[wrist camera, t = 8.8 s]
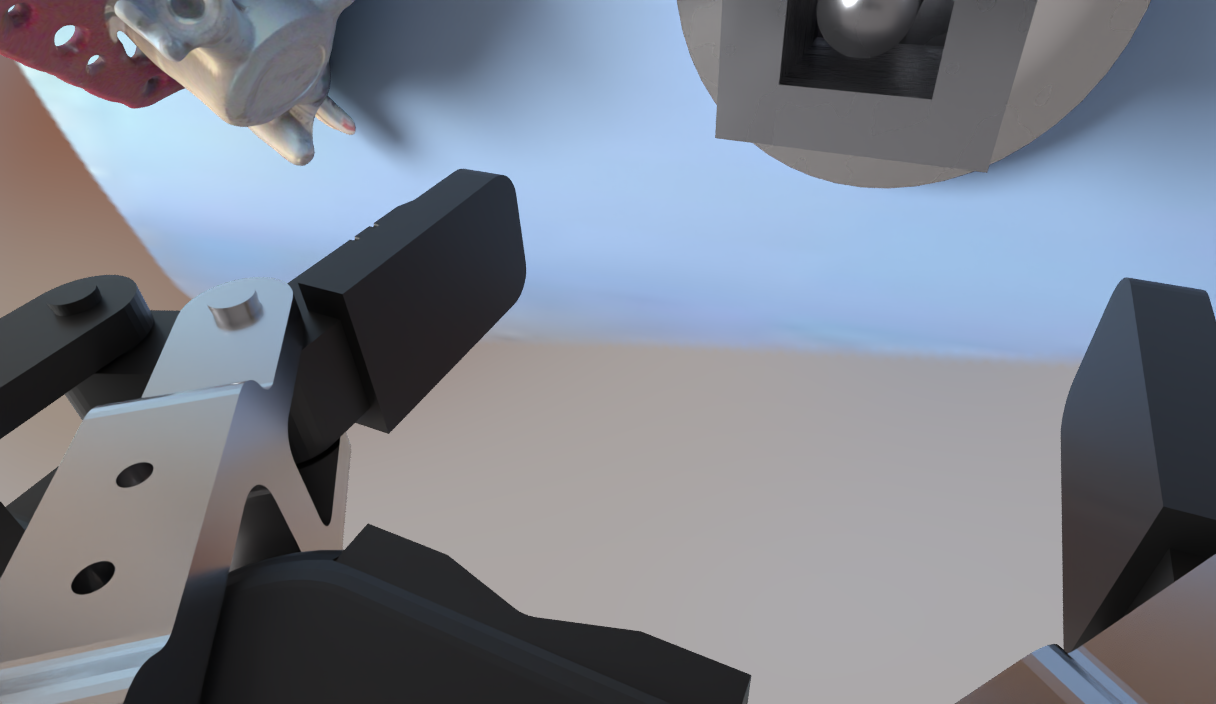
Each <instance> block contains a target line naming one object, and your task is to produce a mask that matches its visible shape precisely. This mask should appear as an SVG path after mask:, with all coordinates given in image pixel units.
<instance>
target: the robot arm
mask: <svg viewBox="0 0 1216 704" xmlns="http://www.w3.org/2000/svg"><path fill="white" fill-rule="evenodd" d="M525 278H526V262H525V254H524V247H523V240H522V233H521V226H520V219H519V212H518V205H517V197H516V192H515V188H514V185H513V183H512V181H511V180H510V179H509V178H508V177H507V176H504V175H499V174H493V173H487V172H480V171H474V170H468V169H459V170H457V171H455V172H453V173H452V174H450V175H449V176H448V177H446V178H445V179H443V180H442V181H441V182H439V183H438V184H436V185H435V186H433V187H432V188H431V189H429V190H428V191H426V192H425V193H424V194H422V195H421V196H419V197H418V198H416V199H415V200H413V201H411V202H408V203H406V204H403V205H401V206H398V207H396V208H395V209H393V210H392V211H391V212H389V213H388V214H386V215H385V216H383V217H382V218H380V219H379V220H378V221H376V222H375V223H374V227H370V226H369V227H368V228H366V229H365V230H363V231H362V232H360V233H359V234H358V235H356V236H355V240H349V241H348V242H346V243H345V244H343V245H342V246H340V247H339V248H338V249H336V250H335V251H333V252H332V253H330V254H329V255H328V256H326V257H325V258H323V259H322V260H320V261H319V262H318V263H316V264H315V265H313V266H312V267H310V268H309V269H308V270H306V271H305V272H303V273H302V274H300V275H299V276H298V277H296V278H295V279H293V280H292V281H290V282H289V283H285V282H284V281H281V280H279V279H275V278H268V277H252V278H244V279H239V280H234V281H231V282H227V283H224V284H221V285H218V286H216V287H213V288H211V289H209V290H207V291H205V292H203V293H201V294H199V295H198V296H196V297H195V298H193V299H192V300H191V301H190V302H189V303H187V304H186V305H185V306H184V308H183V309H182V310H181V311H152V310H149V308H148V306H147V304H146V302H145V300H144V299H143V296H142V295H141V293H140V291H139V289H138V287H137V285H136V283H135V282H134V281H133V280H131V279H130V278H127V277H124V276H119V275H102V276H94V277H88V278H83V279H80V280H76V281H73V282H70V283H66V284H64V285H61V286H59V287H56V288H54V289H52V290H50V291H48V292H46V293H44V294H42V295H40V296H38V297H37V298H35V299H33V300H31V301H30V302H28V303H26V304H25V305H23V306H21V307H19V308H18V309H16V310H14V311H12V312H11V313H9V314H7V315H6V316H4V317H2V318H0V439H1V438H2V437H4V436H5V435H7V434H8V433H10V432H11V431H13V430H14V429H15V428H17V427H18V426H20V425H21V424H23V423H24V422H25V421H27V420H28V419H30V418H31V417H33V416H34V415H35V414H37V413H38V412H40V411H41V410H43V409H44V408H46V407H47V406H48V405H50V404H51V403H53V402H54V401H55V400H57V399H58V398H60V397H61V396H63V395H64V394H65V395H66V397H67V398H68V400H69V401H70V403H71V404H72V406H73V407H74V409H75V410H76V412H77V413H78V414H79V416H80V417H81V419H82V420H83V421H82V423H81V425H80V427H79V429H78V431H77V433H76V434H75V436H74V439H73V440H72V442H71V444H70V446H69V448H68V450H67V452H66V454H65V456H64V457H63V459H62V461H61V463H60V465H59V466H58V467H57V468H56V469H54V470H53V471H52V472H50V473H49V474H48V475H47V476H45V477H44V478H43V479H41V480H40V481H39V482H38V483H36V484H35V485H34V486H32V487H31V488H30V489H28V490H27V491H26V492H25V493H23V494H22V495H21V496H20V497H18V498H17V499H15V500H14V501H13V502H12V503H10V504H9V505H8V506H6V507H5V506H4V505H3V504H2V503H1V502H0V704H747V703H748V696H749V687H750V681H751V675H749V674H747V673H745V672H742V671H739V670H737V669H734V668H732V667H729V666H727V665H724V664H722V663H719V662H717V661H714V660H712V659H709V658H706V657H704V656H702V655H699V654H696V653H694V652H691V651H689V650H686V649H684V648H681V647H679V646H676V645H674V644H671V643H669V642H666V641H664V640H661V639H659V638H656V637H653V636H651V635H648V634H646V633H643V632H641V631H633V630H626V629H618V628H611V627H604V626H596V625H588V624H581V623H574V622H566V621H559V620H552V619H544V618H537V617H532V616H528V615H525V614H523V613H521V612H519V611H518V610H516V609H515V608H513V607H512V606H511V605H510V604H508V603H507V602H506V601H505V600H503V599H502V598H501V597H500V596H498V595H497V594H496V593H494V592H493V591H492V590H491V589H490V588H488V587H487V586H486V585H484V584H483V583H482V582H481V581H480V580H478V579H477V578H476V577H474V576H473V575H472V574H471V573H469V572H468V571H467V570H466V569H464V568H463V567H462V566H461V565H459V564H458V563H457V562H456V561H454V560H453V559H452V558H450V557H449V556H448V555H446V554H443V553H441V552H438V551H436V550H433V549H431V548H428V547H426V546H423V545H421V544H418V543H416V542H413V541H411V540H408V539H405V538H403V537H401V536H398V535H396V534H393V533H391V532H388V531H385V530H383V529H380V528H378V527H375V526H373V525H370V524H367V525H366V526H365V527H364V529H363V530H362V531H361V532H360V533H359V534H358V535H357V536H356V538H355V539H354V540H353V541H352V542H351V543H350V545H349V546H348V547H347V548H346V549H345V550H343V535H344V523H345V512H346V502H347V501H346V500H347V491H348V479H349V469H350V458H351V444H350V441H349V438H348V436H347V433H346V431H347V430H348V429H349V428H350V427H351V426H352V425H353V424H354V423H358V424H361V425H364V426H367V427H370V428H373V429H376V430H379V431H382V432H385V433H388V434H389V433H390V432H391V431H392V430H393V429H394V428H395V427H396V426H397V425H398V424H399V423H400V422H401V421H402V420H403V418H405V417H406V415H407V414H408V413H409V412H410V411H411V410H412V409H413V408H414V407H415V406H416V405H417V404H418V403H419V402H420V401H421V400H422V399H423V398H424V397H425V396H426V395H427V394H428V393H429V392H430V391H431V389H433V387H435V385H437V383H438V382H439V381H440V380H441V379H442V378H443V377H444V376H445V375H446V374H447V373H448V372H449V371H450V370H451V369H452V368H453V367H454V366H455V365H456V364H457V363H458V362H459V361H460V360H461V359H462V357H464V356H465V355H466V354H467V352H468V351H469V350H470V349H471V348H472V347H473V346H474V345H475V344H476V343H477V342H478V341H479V340H480V339H481V338H482V337H483V336H484V335H485V334H486V333H487V332H488V331H489V330H490V329H491V328H492V327H493V326H494V325H495V324H496V323H497V322H498V321H499V319H500V318H501V317H502V316H503V315H504V314H505V313H506V312H507V311H508V310H509V309H510V308H511V307H512V306H513V305H514V304H515V303H516V301H517V300H518V298H519V297H520V295H521V292H522V290H523V287H524V283H525ZM1061 477H1062V478H1061V485H1062V553H1063V554H1062V555H1063V556H1062V558H1063V634H1064V650H1063V649H1062V648H1061V647H1060V646H1059V645H1057V644H1052V645H1047V646H1045V647H1042V648H1040V649H1038V650H1036V651H1034V652H1032V653H1031V654H1029V655H1027V656H1026V657H1024V658H1023V659H1021V660H1020V661H1018V662H1016V663H1015V664H1013V665H1012V666H1011V667H1009V668H1007V669H1006V670H1004V671H1003V672H1001V673H1000V674H998V675H997V676H995V677H994V678H992V679H991V680H989V681H988V682H986V683H985V684H984V685H982V686H981V687H979V688H978V689H976V690H975V691H973V692H972V693H970V694H969V695H967V696H966V697H964V698H963V699H961V700H960V701H958V702H957V703H955V704H1216V320H1215V316H1214V313H1213V309H1212V306H1211V302H1210V299H1209V296H1208V293H1207V292H1206V291H1204V290H1201V289H1194V288H1188V287H1182V286H1176V285H1170V284H1164V283H1157V282H1151V281H1145V280H1139V279H1133V278H1127V277H1126V278H1124V279H1122V280H1121V281H1120V282H1119V284H1118V285H1117V287H1116V288H1115V290H1114V292H1113V294H1112V296H1111V298H1110V300H1109V302H1108V304H1107V307H1106V309H1105V311H1104V313H1103V316H1102V318H1101V320H1100V322H1099V325H1098V327H1097V329H1096V331H1095V333H1094V336H1093V338H1092V340H1091V342H1090V345H1089V347H1088V349H1087V351H1086V354H1085V356H1084V358H1083V360H1082V363H1081V365H1080V367H1079V369H1078V371H1077V374H1076V376H1075V378H1074V380H1073V383H1072V385H1071V388H1070V391H1069V394H1068V397H1067V401H1066V404H1065V409H1064V413H1063V418H1062V425H1061Z"/></svg>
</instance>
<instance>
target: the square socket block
mask: <svg viewBox="0 0 1216 704" xmlns="http://www.w3.org/2000/svg"><path fill="white" fill-rule="evenodd" d="M817 1H818V0H722V17H721V37H720V56H719V76H718V96H717V116H716V135H715V138H719V139H727V140H735V141H743V142H751V143H759V144H766V145H774V146H782V147H790V148H798V149H806V150H814V151H821V152H829V153H837V154H845V155H853V156H861V157H869V158H876V159H884V160H892V161H900V162H908V163H916V164H923V165H931V166H939V167H947V168H955V169H963V170H971V171H978V172H986V173H987V171H988V168H989V164H990V161H991V158H992V154H993V151H994V147H995V144H996V140H997V137H998V134H999V130H1000V127H1001V123H1002V120H1003V117H1004V113H1005V110H1006V106H1007V103H1008V100H1009V96H1010V93H1011V89H1012V86H1013V82H1014V79H1015V76H1016V72H1017V69H1018V65H1019V62H1020V59H1021V55H1022V52H1023V48H1024V45H1025V42H1026V38H1027V35H1028V31H1029V28H1030V24H1031V21H1032V18H1033V14H1034V11H1035V7H1036V4H1037V1H1038V0H955V1H954V6H953V10H952V14H951V19H950V23H949V27H948V32H947V36H946V41H945V45H944V47H942V46H928V45H914V44H900V43H898V44H897V45H895V46H894V47H893V48H891V49H890V50H888V51H887V52H885V53H882V54H880V55H877V56H874V57H869V58H853V57H849V56H846V55H843V54H841V53H839V52H838V51H836V50H835V49H833V48H832V47H831V46H830V45H829V44H828V43H827V42H826V40H825V39H824V38H818V37H817V35H818V27H819V26H818V22H817V15H816V11H817Z"/></svg>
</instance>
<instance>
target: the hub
mask: <svg viewBox="0 0 1216 704" xmlns="http://www.w3.org/2000/svg"><path fill="white" fill-rule="evenodd" d="M954 1H955V0H818V1H817V11H816V15H817V22H818V26H819V27H818V35H817V37H818V38H824V39H825V40H826V42H827V43H828V44H829V45H830V46H831V47H832V48H833V49H835V50H836V51H838V52H839V53H841V54H843V55H846V56H849V57H853V58H869V57H874V56H877V55H880V54H882V53H885V52H887V51H888V50H890V49H891V48H893V47H894V46H895V45H897V44H898V43H900V44H914V45H928V46H942V47H944V45H945V41H946V36H947V32H948V27H949V23H950V19H951V14H952V10H953V6H954ZM1150 1H1151V0H1038V1H1037V4H1036V7H1035V11H1034V14H1033V18H1032V21H1031V24H1030V28H1029V31H1028V35H1027V38H1026V42H1025V45H1024V48H1023V52H1022V55H1021V59H1020V62H1019V65H1018V69H1017V72H1016V76H1015V79H1014V82H1013V86H1012V89H1011V93H1010V96H1009V100H1008V103H1007V106H1006V110H1005V113H1004V117H1003V120H1002V123H1001V127H1000V130H999V134H998V137H997V140H996V144H995V147H994V151H993V154H992V158H991V161H990V164H992V163H994V162H997V161H999V160H1001V159H1003V158H1005V157H1006V156H1008V155H1010V154H1012V153H1013V152H1015V151H1017V150H1019V149H1021V148H1022V147H1024V146H1026V145H1028V144H1029V143H1031V142H1032V141H1033V140H1035V139H1036V138H1038V137H1039V136H1040V135H1042V134H1043V133H1045V132H1046V131H1047V130H1049V129H1050V128H1051V127H1053V126H1054V125H1056V124H1057V123H1058V122H1059V121H1060V120H1061V119H1062V118H1064V117H1065V116H1066V115H1067V114H1068V113H1069V112H1070V111H1071V110H1072V109H1074V108H1075V107H1076V106H1077V105H1078V104H1079V103H1080V102H1081V101H1083V99H1084V98H1085V97H1086V96H1087V95H1088V94H1089V93H1090V92H1091V90H1092V89H1093V88H1094V87H1095V86H1096V85H1097V84H1098V83H1099V82H1100V80H1101V79H1102V78H1103V77H1104V76H1105V75H1106V74H1107V72H1108V71H1109V70H1110V68H1111V67H1112V65H1113V64H1114V63H1115V61H1116V60H1117V58H1118V57H1119V56H1120V54H1121V53H1122V51H1123V50H1124V49H1125V47H1126V46H1127V44H1128V43H1129V41H1130V39H1131V38H1132V36H1133V34H1134V32H1135V30H1136V28H1137V27H1138V25H1139V23H1140V21H1141V19H1142V18H1143V16H1144V14H1145V12H1146V10H1147V8H1148V6H1149V3H1150ZM677 5H678V10H679V15H680V20H681V25H682V30H683V34H684V37H685V40H686V43H687V46H688V50H689V53H690V56H691V58H692V61H693V63H694V65H695V67H696V69H697V72H698V74H699V76H700V78H701V80H702V82H703V84H704V85H705V87H706V89H707V90H708V92H709V94H710V95H711V97H712V99H713V100H714V102H715V103H716V104H717V96H718V76H719V56H720V37H721V17H722V0H677ZM754 144H755V145H756V146H757V147H759V148H760V149H761V150H763V151H764V152H765V153H767V154H768V155H770V156H772V157H773V158H775V159H777V160H778V161H780V162H782V163H784V164H785V165H787V166H789V167H791V168H794V169H796V170H798V171H801V172H803V173H805V174H808V175H810V176H813V177H816V178H820V179H823V180H827V181H830V182H834V183H838V184H844V185H851V186H857V187H868V188H899V187H912V186H920V185H925V184H930V183H935V182H941V181H945V180H948V179H951V178H955V177H958V176H961V175H964V174H968V173H971V172H974V171H971V170H963V169H955V168H947V167H939V166H931V165H923V164H916V163H908V162H900V161H892V160H884V159H876V158H869V157H861V156H853V155H845V154H837V153H829V152H821V151H814V150H806V149H798V148H790V147H782V146H774V145H766V144H759V143H754ZM990 164H989V165H990Z"/></svg>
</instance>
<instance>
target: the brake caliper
mask: <svg viewBox="0 0 1216 704" xmlns="http://www.w3.org/2000/svg"><path fill="white" fill-rule="evenodd" d="M354 1H355V0H0V54H1V55H3V56H5V57H7V58H10V59H13V60H15V61H17V62H20V63H22V64H23V65H25V66H28V67H31V68H33V69H36V70H39V71H43V72H47V73H49V74H51V75H54V76H56V77H57V78H59V79H61V80H63V81H64V82H66V83H69V84H72V85H74V86H77V87H80V88H83V89H84V90H85V91H87V92H89V93H90V94H93V95H95V96H97V97H100V98H102V99H105V100H108V101H112V102H118V103H122V104H124V105H126V106H128V107H130V108H141V107H146V106H150V105H152V104H154V103H156V102H158V101H160V100H162V99H163V98H165V97H167V96H169V95H171V94H173V93H175V92H177V91H179V90H182V89H184V88H186V89H187V90H189V91H190V92H191V93H192V94H194V95H195V96H196V97H197V98H199V99H200V100H201V101H202V102H203V103H204V104H205V105H206V106H208V107H209V108H210V109H211V110H212V111H213V112H214V113H215V114H216V115H218V116H219V117H220V118H221V119H222V120H224V121H225V122H227V123H229V124H231V125H234V126H240V127H248V128H249V129H250V130H251V131H252V132H253V133H254V134H255V135H257V136H258V137H259V138H260V139H261V140H263V141H264V142H265V143H267V144H268V145H269V146H270V147H272V148H273V149H274V150H276V151H277V152H278V153H279V154H280V155H281V156H282V157H284V158H285V159H286V160H288V161H289V162H291V163H293V164H295V165H300V166H303V165H306V164H308V163H309V162H310V161H311V160H312V159H313V157H314V153H315V152H314V146H313V136H312V132H313V122H314V118H315V117H316V118H318V119H319V120H320V121H322V122H323V123H325V124H326V125H328V126H329V127H331V128H333V129H336V130H339V131H341V132H344V133H346V134H349V135H352V134H354V133H355V125H354V122H353V120H352V119H351V117H349V116H348V115H347V114H346V113H345V112H344V111H343V110H342V109H341V108H340V107H338V106H337V105H336V104H335V103H334V102H333V101H332V100H331V99H330V98H329V97H328V96H327V95H328V92H329V87H330V64H329V58H330V54H331V51H332V46H333V39H334V34H335V29H336V22H337V19H338V17H339V15H340V14H341V13H342V11H343V10H344V9H345V8H347V7H348V6H350V5H351V4H352V3H353V2H354ZM13 5H15V6H14V8H13V9H12V10H11V11H10V12H8V9H9V8H10V7H12V6H13ZM66 25H74V26H75V32H74V34H73V36H72V37H71V39H70V40H69V41H68V42H67V43H65V44H63V45H61V46H56V45H55V43H54V37H55V34H56V32H57V31H58V30H59V29H60V28H62V27H63V26H66ZM118 31H122V32H124V33H125V34H126V35H127V36H128V37H129V38H130V39H131V40H132V41H133V43H134V44H135V45H136V46H137V47H136V51H135V54H134V55H133V57H129V56H128V55H127V54H126V51H125V49H124V47H123V44H122V43H121V42H120V40H119V39H118V38H117V32H118ZM94 55H99V58H98V59H97V60H96V61H95V62H94V63H92V64H90V65H87V64H88V61H89V59H90V58H91V57H92V56H94Z"/></svg>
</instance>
